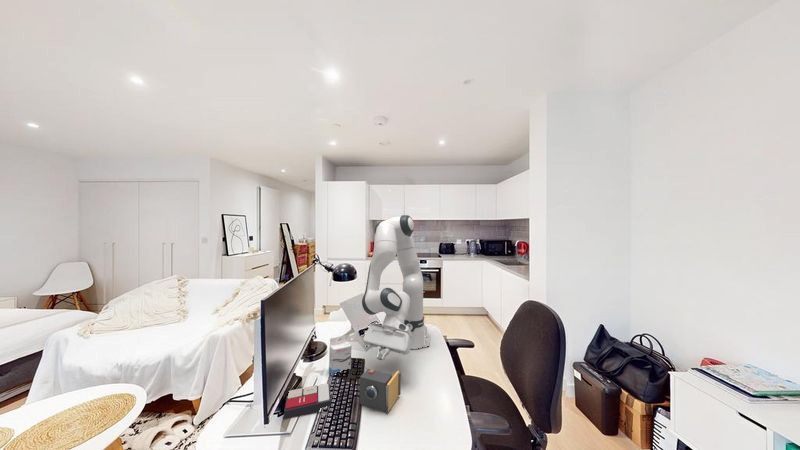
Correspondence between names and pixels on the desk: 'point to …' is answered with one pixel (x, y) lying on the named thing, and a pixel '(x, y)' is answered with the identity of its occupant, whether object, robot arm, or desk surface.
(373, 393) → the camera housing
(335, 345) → the ink box
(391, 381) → the side door
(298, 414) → the calculator
